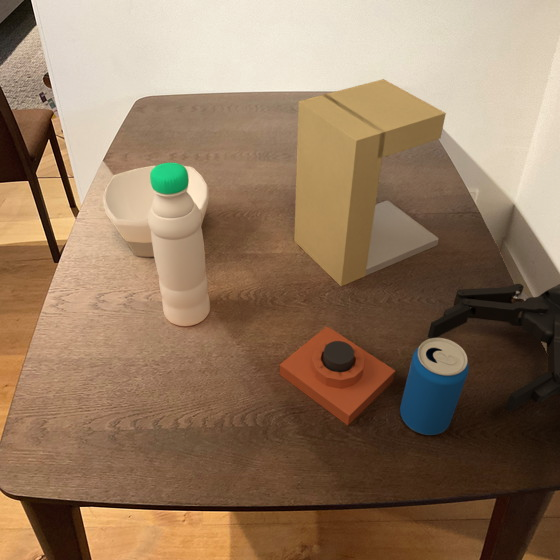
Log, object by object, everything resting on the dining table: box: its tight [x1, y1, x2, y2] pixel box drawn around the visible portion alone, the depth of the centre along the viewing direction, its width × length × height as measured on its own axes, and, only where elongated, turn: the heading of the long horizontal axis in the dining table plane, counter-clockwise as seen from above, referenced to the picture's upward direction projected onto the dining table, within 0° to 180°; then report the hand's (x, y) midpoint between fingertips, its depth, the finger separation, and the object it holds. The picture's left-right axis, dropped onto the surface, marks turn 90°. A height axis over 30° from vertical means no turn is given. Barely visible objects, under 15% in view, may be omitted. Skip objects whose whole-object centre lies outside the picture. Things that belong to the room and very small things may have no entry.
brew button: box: [323, 341, 354, 372], centre depth 76 cm, size 4×4×2 cm
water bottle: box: [148, 162, 211, 327], centre depth 80 cm, size 7×7×25 cm
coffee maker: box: [293, 78, 447, 287], centre depth 93 cm, size 14×21×26 cm, turn 122°
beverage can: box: [399, 337, 470, 436], centre depth 71 cm, size 6×6×12 cm
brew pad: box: [279, 326, 396, 426], centre depth 78 cm, size 12×10×4 cm
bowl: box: [102, 165, 210, 258], centre depth 100 cm, size 18×18×9 cm
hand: (468, 365), depth 73 cm, fingers open, 13 cm apart
